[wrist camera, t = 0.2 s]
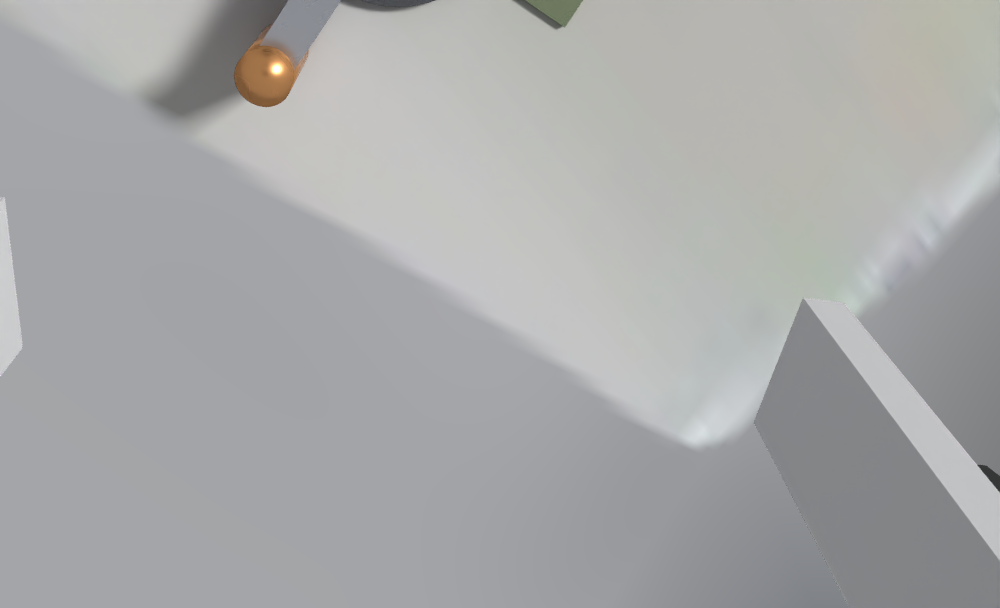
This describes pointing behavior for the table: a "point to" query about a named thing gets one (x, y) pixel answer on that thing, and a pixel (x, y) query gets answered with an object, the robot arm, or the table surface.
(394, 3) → the base
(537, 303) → the table surface
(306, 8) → the lever with ball knob
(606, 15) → the table surface
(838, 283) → the table surface
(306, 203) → the table surface
